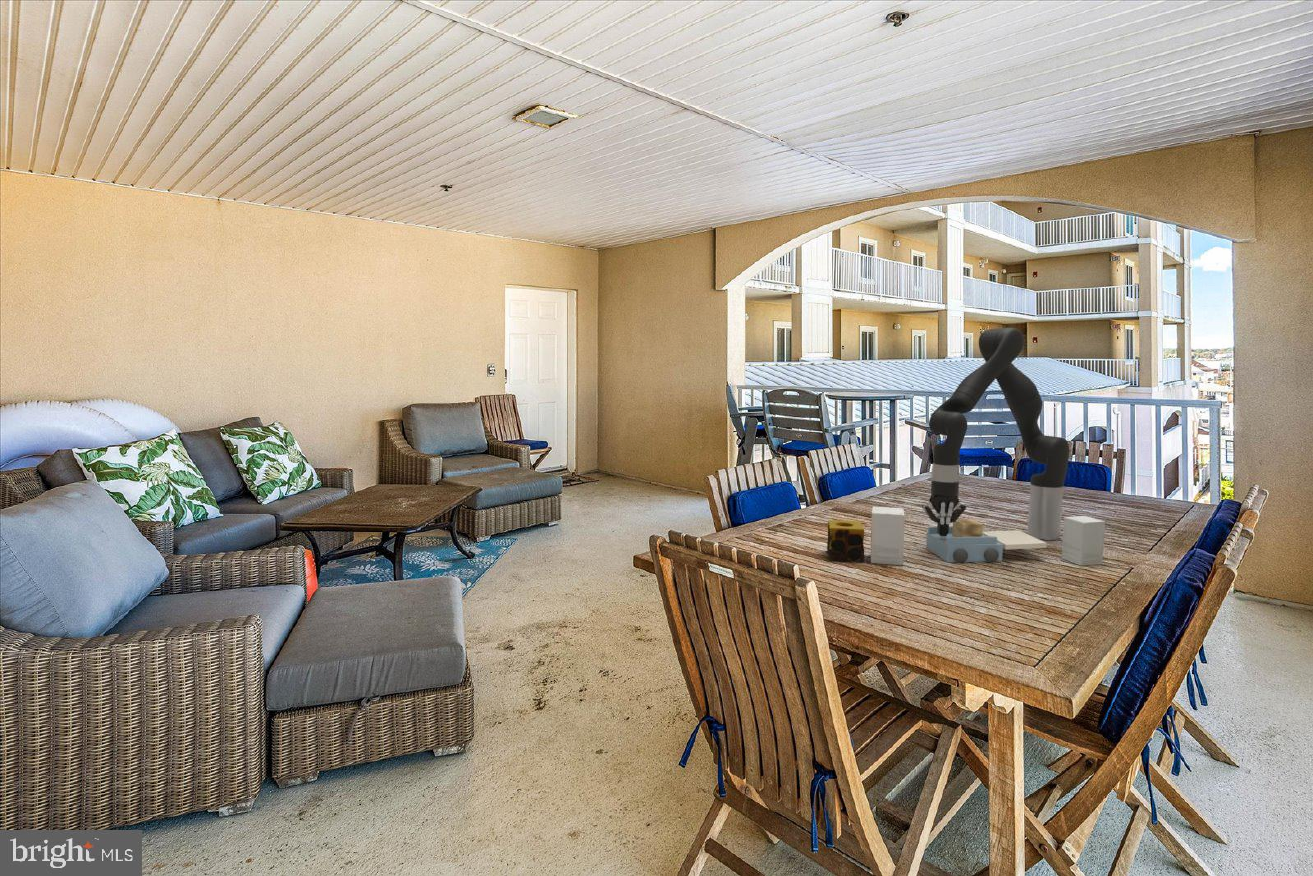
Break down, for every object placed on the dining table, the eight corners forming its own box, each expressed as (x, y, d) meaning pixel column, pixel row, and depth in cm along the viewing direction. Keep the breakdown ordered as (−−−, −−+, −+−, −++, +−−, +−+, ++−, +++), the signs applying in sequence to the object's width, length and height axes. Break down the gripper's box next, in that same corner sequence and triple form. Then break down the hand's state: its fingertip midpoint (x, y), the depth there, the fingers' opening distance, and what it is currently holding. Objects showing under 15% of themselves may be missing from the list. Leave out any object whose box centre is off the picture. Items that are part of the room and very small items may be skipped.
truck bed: (975, 546, 205) (976, 524, 204) (1003, 562, 189) (1004, 538, 188) (925, 547, 204) (926, 525, 203) (948, 563, 189) (950, 539, 188)
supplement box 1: (902, 557, 195) (904, 507, 193) (903, 566, 186) (905, 514, 184) (870, 554, 197) (872, 505, 196) (869, 563, 189) (871, 512, 187)
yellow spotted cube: (864, 563, 189) (865, 529, 188) (828, 561, 191) (829, 528, 190) (860, 552, 199) (861, 520, 198) (826, 551, 201) (827, 519, 200)
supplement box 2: (1103, 564, 186) (1106, 521, 185) (1080, 566, 185) (1083, 522, 184) (1082, 557, 194) (1085, 515, 192) (1060, 558, 192) (1063, 516, 191)
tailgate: (980, 536, 203) (1018, 534, 204) (1005, 549, 189) (1046, 547, 190) (980, 531, 203) (1018, 530, 204) (1005, 544, 189) (1046, 543, 190)
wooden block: (971, 535, 199) (972, 519, 198) (981, 540, 193) (982, 524, 193) (952, 535, 199) (952, 519, 198) (961, 541, 193) (962, 524, 192)
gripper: (960, 476, 198) (958, 532, 200) (917, 476, 197) (915, 533, 199) (973, 480, 190) (970, 538, 192) (929, 481, 190) (926, 539, 192)
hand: (942, 535), depth 196 cm, fingers closed
